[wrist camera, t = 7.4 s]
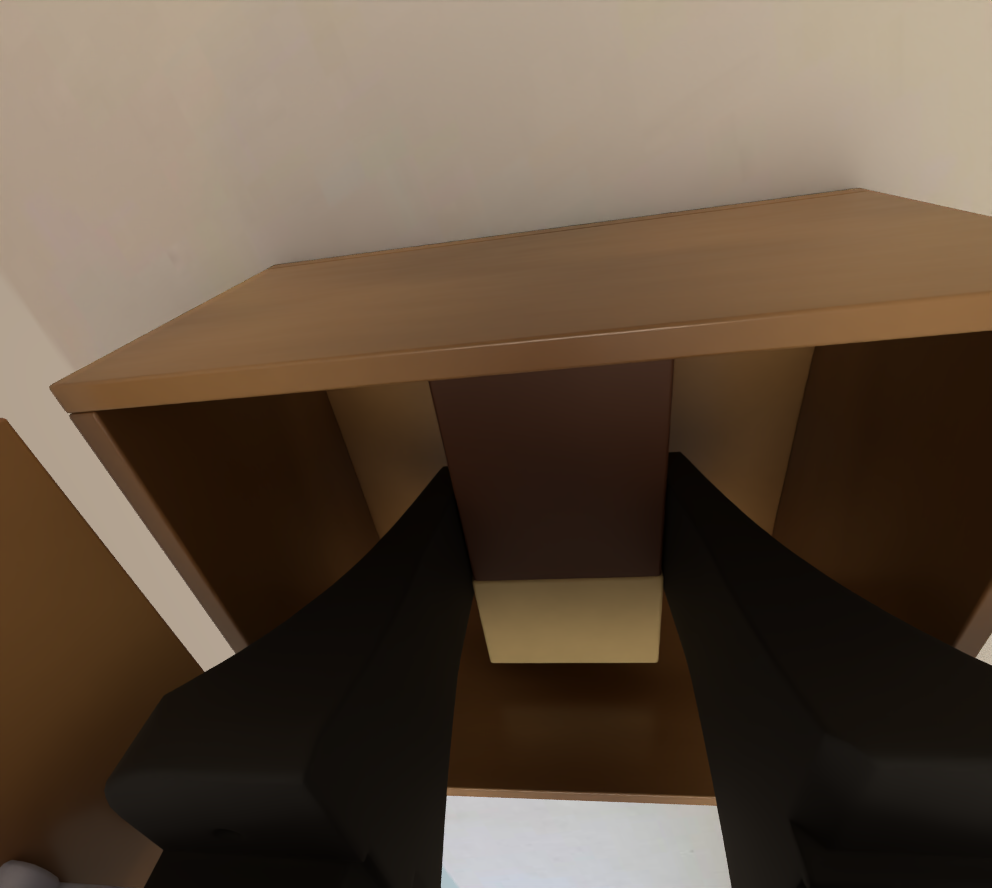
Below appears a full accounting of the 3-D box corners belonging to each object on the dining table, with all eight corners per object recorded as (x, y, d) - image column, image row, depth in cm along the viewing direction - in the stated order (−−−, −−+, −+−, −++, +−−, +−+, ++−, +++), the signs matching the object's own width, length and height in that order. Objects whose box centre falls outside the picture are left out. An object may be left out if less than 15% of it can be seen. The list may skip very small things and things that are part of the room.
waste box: (394, 593, 17) (331, 792, 12) (273, 264, 11) (44, 386, 6) (767, 584, 15) (875, 812, 10) (861, 187, 9) (1233, 267, 4)
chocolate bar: (638, 566, 14) (659, 663, 12) (499, 570, 15) (490, 664, 12) (645, 292, 10) (680, 350, 7) (451, 313, 11) (421, 374, 8)
